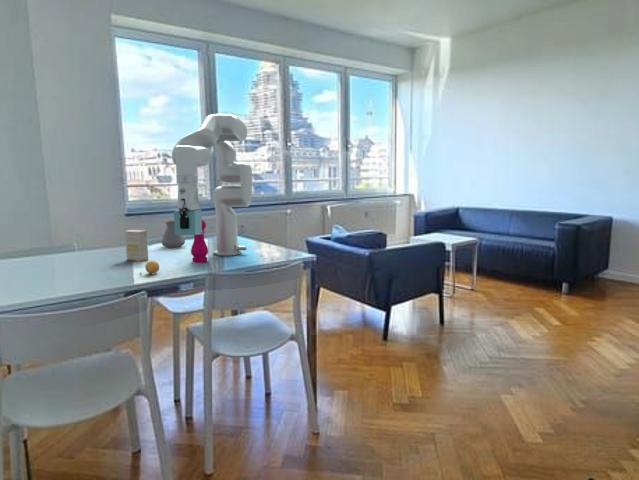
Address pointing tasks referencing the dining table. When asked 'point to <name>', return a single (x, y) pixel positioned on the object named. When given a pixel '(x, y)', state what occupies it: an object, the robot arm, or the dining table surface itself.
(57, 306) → the dining table surface
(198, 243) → the pepper mill
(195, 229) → the teal square block
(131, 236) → the supplement box
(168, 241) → the coffee pot
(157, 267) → the ball
